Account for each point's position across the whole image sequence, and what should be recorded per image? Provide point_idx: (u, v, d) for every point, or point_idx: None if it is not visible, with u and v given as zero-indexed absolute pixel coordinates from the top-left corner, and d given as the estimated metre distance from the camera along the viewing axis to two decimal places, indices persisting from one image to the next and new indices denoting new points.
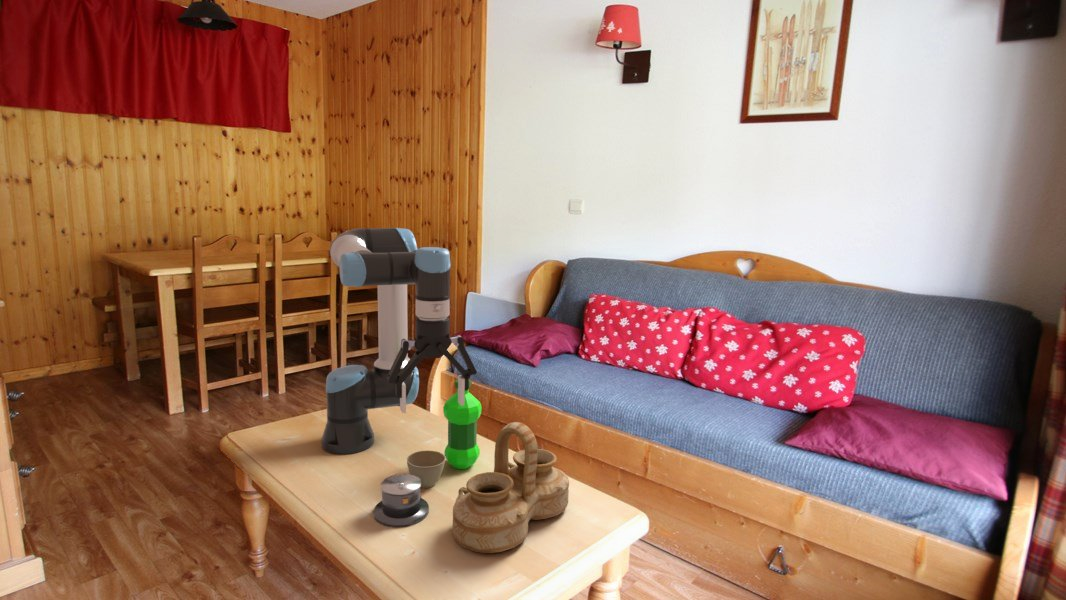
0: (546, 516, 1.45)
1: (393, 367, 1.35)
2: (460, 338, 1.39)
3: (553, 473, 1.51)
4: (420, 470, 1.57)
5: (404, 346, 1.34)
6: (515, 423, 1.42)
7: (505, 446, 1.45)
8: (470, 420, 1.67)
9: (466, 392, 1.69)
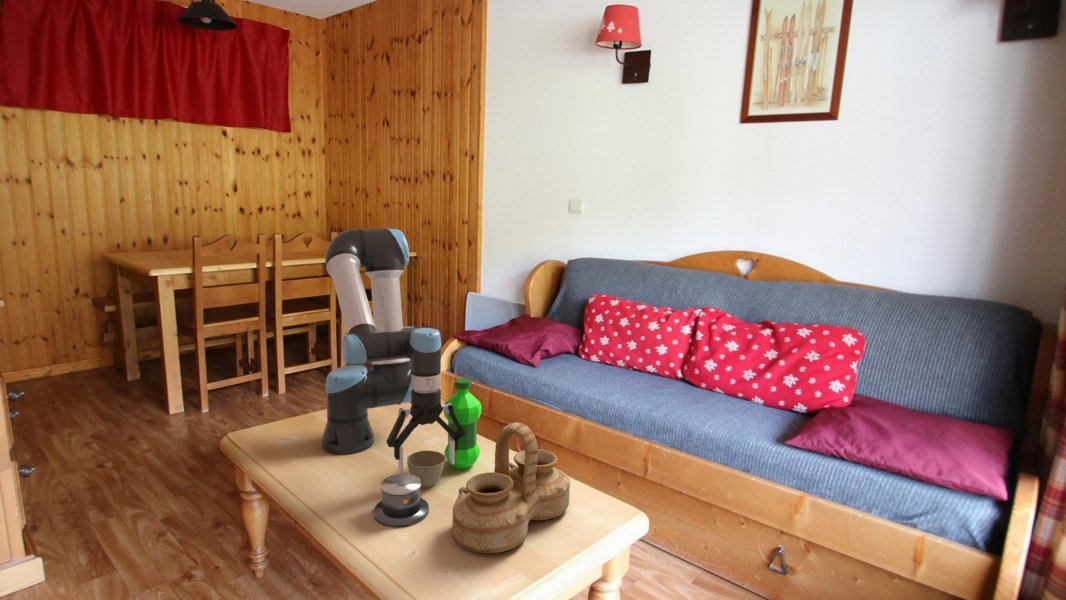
0: (546, 517, 1.45)
1: (392, 433, 1.56)
2: (450, 406, 1.60)
3: (554, 474, 1.50)
4: (420, 470, 1.57)
5: (401, 415, 1.55)
6: (515, 423, 1.41)
7: (506, 446, 1.44)
8: (470, 420, 1.67)
9: (466, 392, 1.69)
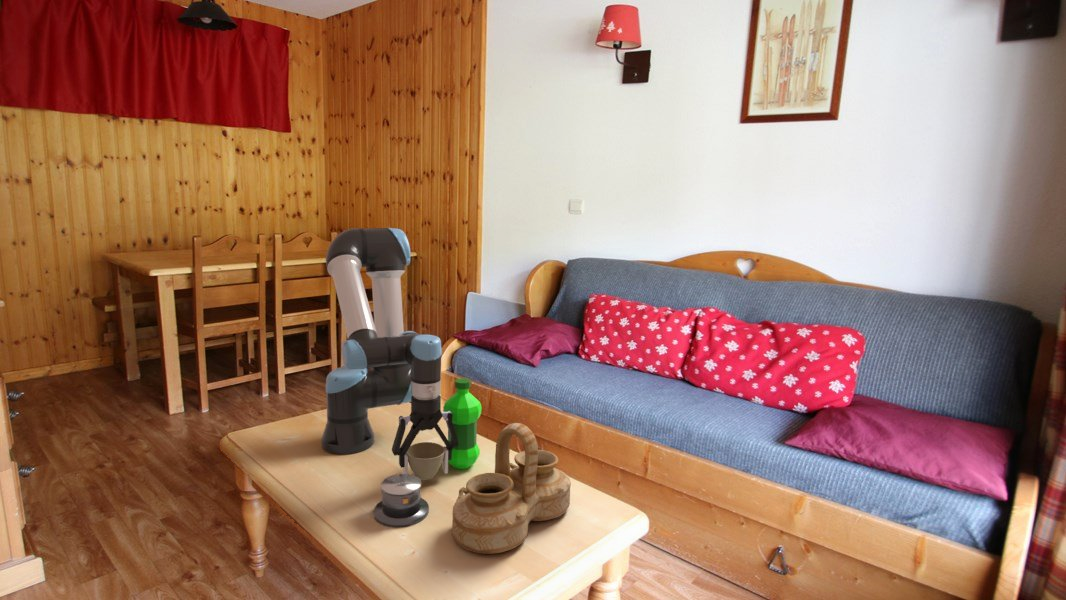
0: (547, 518, 1.45)
1: (395, 442, 1.57)
2: (450, 414, 1.61)
3: (554, 474, 1.50)
4: (419, 461, 1.57)
5: (401, 423, 1.56)
6: (516, 424, 1.41)
7: (506, 447, 1.44)
8: (470, 420, 1.67)
9: (466, 392, 1.68)
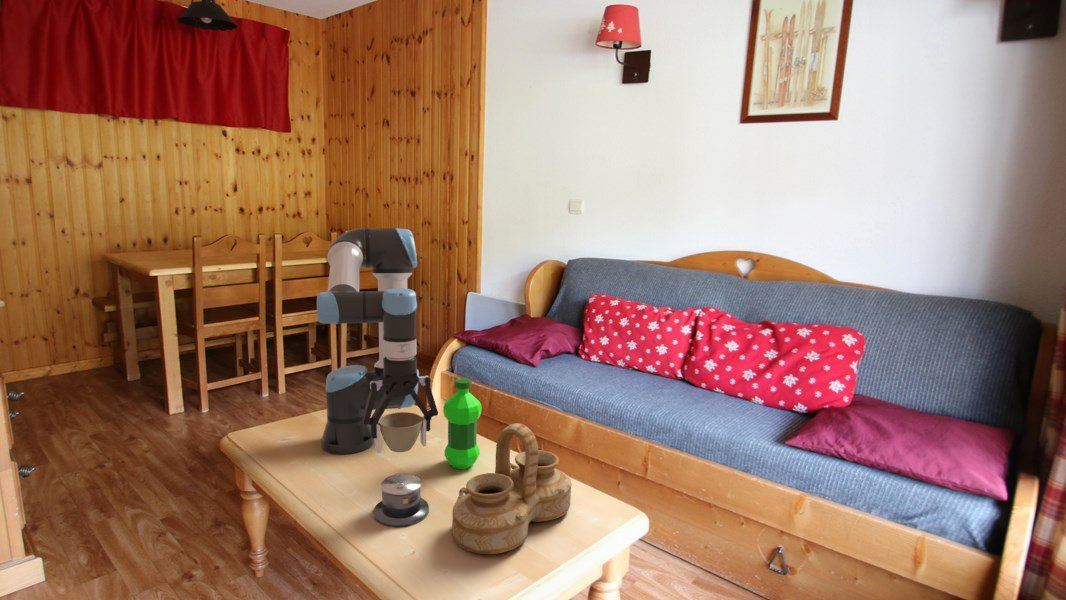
0: (547, 518, 1.44)
1: (366, 409, 1.40)
2: (428, 378, 1.43)
3: (555, 475, 1.50)
4: (393, 431, 1.39)
5: (372, 388, 1.38)
6: (516, 424, 1.41)
7: (507, 447, 1.44)
8: (470, 420, 1.67)
9: (466, 392, 1.69)
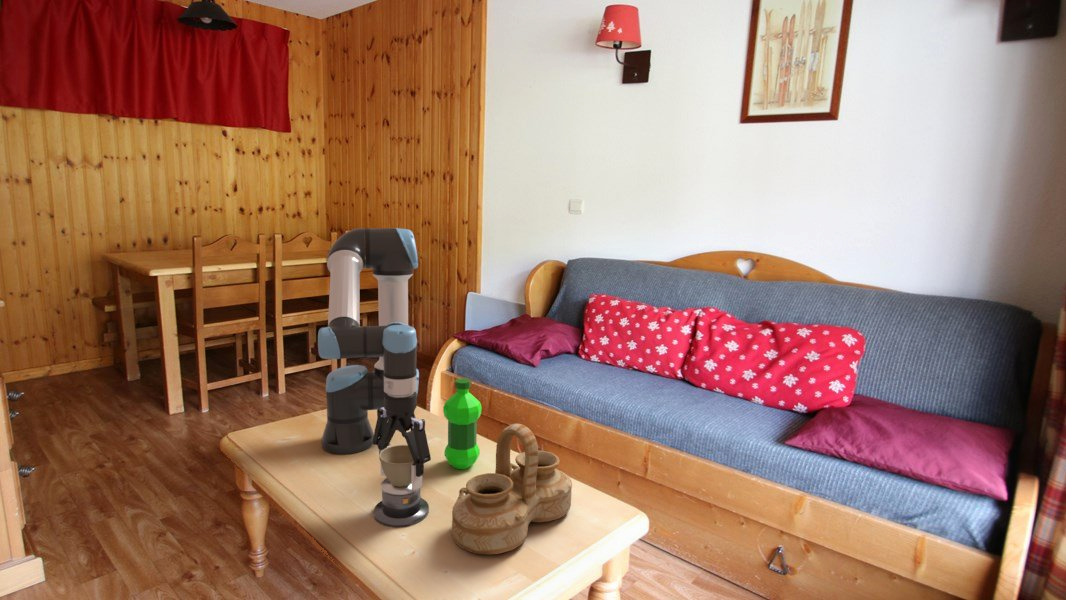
0: (547, 519, 1.44)
1: None
2: (415, 423, 1.39)
3: (556, 476, 1.49)
4: (380, 460, 1.44)
5: (377, 413, 1.46)
6: (516, 424, 1.41)
7: (507, 447, 1.44)
8: (470, 420, 1.67)
9: (466, 392, 1.69)
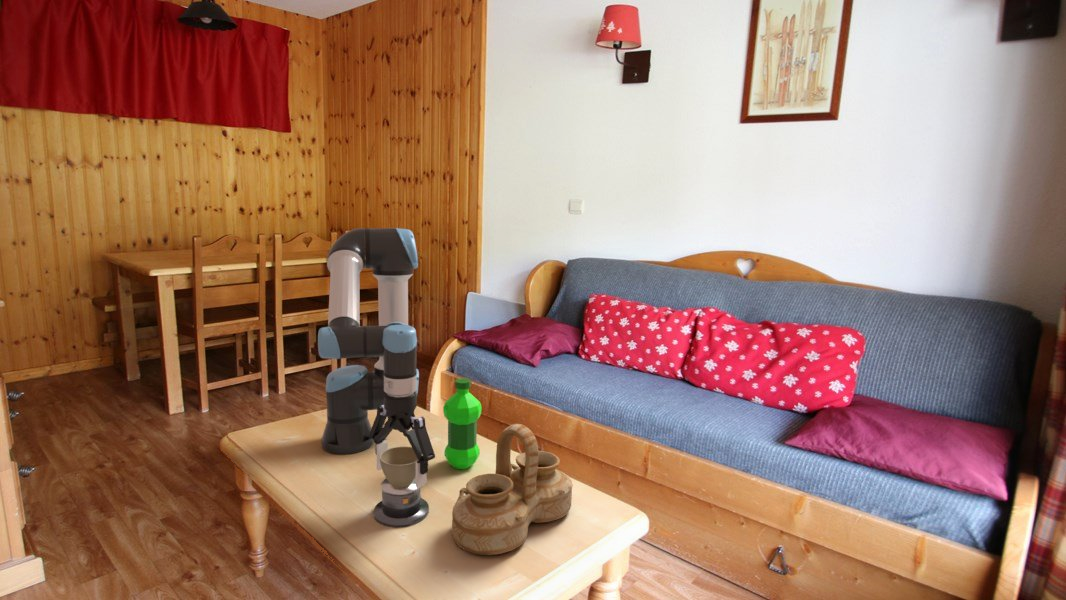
0: (547, 519, 1.44)
1: None
2: (415, 420, 1.39)
3: (556, 476, 1.49)
4: (380, 461, 1.44)
5: (377, 410, 1.46)
6: (516, 425, 1.41)
7: (507, 448, 1.44)
8: (470, 420, 1.67)
9: (466, 392, 1.69)
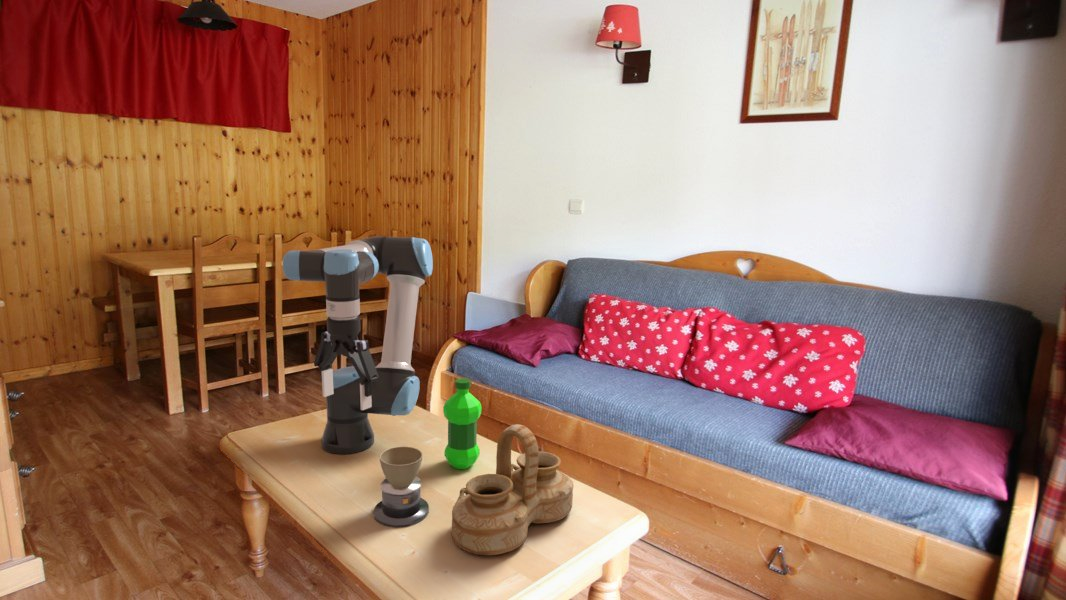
0: (547, 520, 1.44)
1: None
2: (358, 343, 1.40)
3: (557, 477, 1.49)
4: (380, 461, 1.44)
5: (321, 336, 1.47)
6: (517, 425, 1.40)
7: (507, 448, 1.44)
8: (470, 420, 1.67)
9: (466, 392, 1.68)
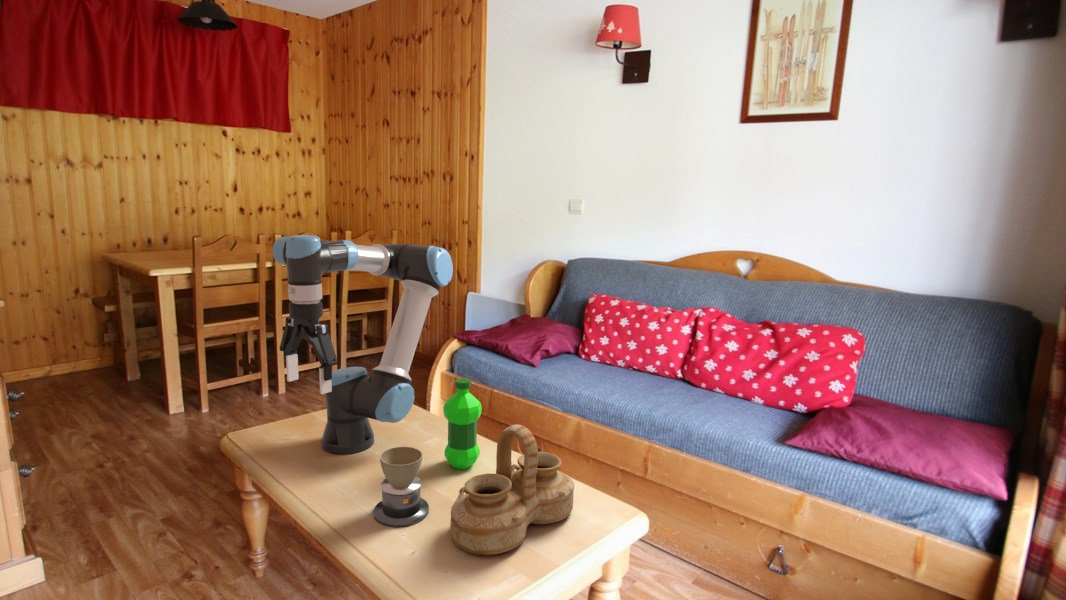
0: (547, 521, 1.43)
1: None
2: (317, 326, 1.42)
3: (557, 478, 1.48)
4: (380, 461, 1.44)
5: (286, 321, 1.50)
6: (516, 425, 1.40)
7: (507, 448, 1.44)
8: (470, 420, 1.67)
9: (466, 392, 1.69)
